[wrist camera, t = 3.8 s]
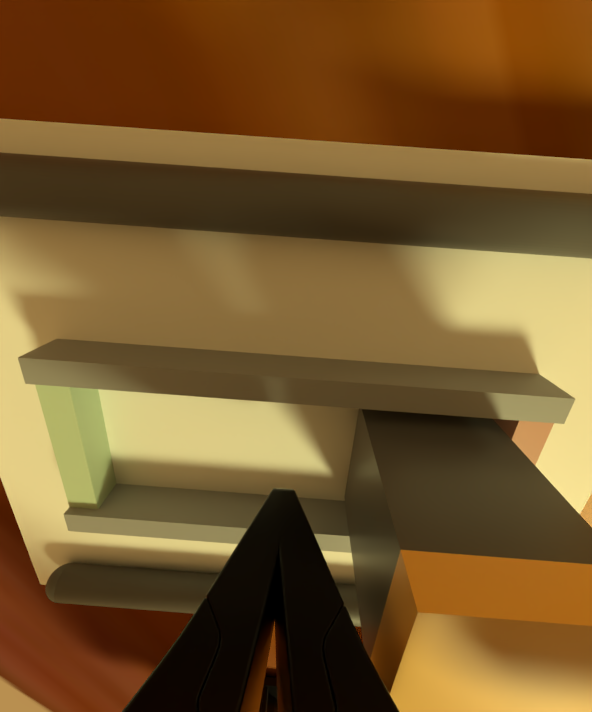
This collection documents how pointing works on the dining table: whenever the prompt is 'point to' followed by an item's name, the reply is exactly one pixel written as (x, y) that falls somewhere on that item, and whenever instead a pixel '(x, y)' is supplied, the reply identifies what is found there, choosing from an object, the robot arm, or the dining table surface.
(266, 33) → the dining table surface
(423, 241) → the panel
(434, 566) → the lever
